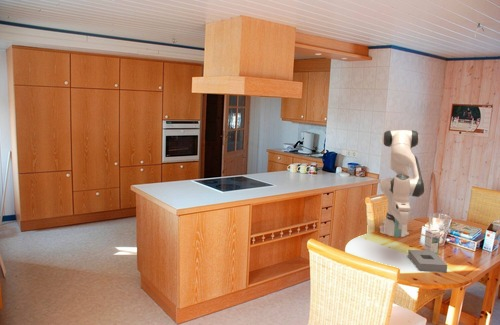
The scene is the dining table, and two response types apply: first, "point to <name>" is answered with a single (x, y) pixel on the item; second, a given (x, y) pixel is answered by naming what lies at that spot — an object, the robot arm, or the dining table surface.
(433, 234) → the syrup box
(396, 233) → the peg
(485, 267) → the dining table surface
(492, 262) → the dining table surface
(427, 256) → the hole block
